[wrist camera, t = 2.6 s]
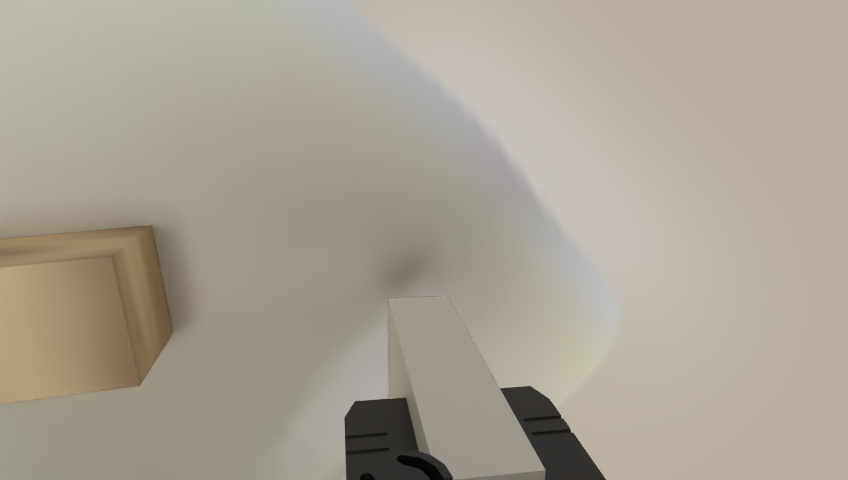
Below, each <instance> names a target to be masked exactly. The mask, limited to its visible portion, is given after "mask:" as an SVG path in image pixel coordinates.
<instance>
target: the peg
mask: <svg viewBox="0 0 848 480" xmlns="http://www.w3.org/2000/svg"><path fill="white" fill-rule="evenodd" d="M172 334H173V330H172V325H171V320H170V315H169V310H168V305H167V300H166V295H165V290H164V285H163V280H162V275H161V270H160V265H159V260H158V255H157V250H156V245H155V240H154V235H153V230H152V225H150V226H139V227H128V228H117V229H107V230H96V231H85V232H74V233H63V234H52V235H41V236H30V237H19V238H8V239H0V404H6V403H14V402H21V401H29V400H36V399H44V398H51V397H59V396H66V395H74V394H81V393H89V392H96V391H104V390H112V389H119V388H127V387H134V386H140V385H141V383H142V382H143V380H144V378H145V377H146V375H147V374H148V372H149V370H150V369H151V367H152V366H153V364H154V362H155V361H156V359H157V358H158V356H159V354H160V353H161V351H162V350H163V348H164V346H165V345H166V343H167V342H168V340H169V338H170V337H171V335H172Z"/></svg>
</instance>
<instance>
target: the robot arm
mask: <svg viewBox="0 0 848 480" xmlns="http://www.w3.org/2000/svg"><path fill="white" fill-rule="evenodd" d="M388 370H389V399H380V400H367V401H355V402H354V404H353V405H352V407H351V408H350V410H349V412H348V413H347V415H346V416H345V449H346V480H606V479H605V478H604V476H603V475H602V473H601V472H600V470H599V469H598V468H597V466H596V465H595V463H594V462H593V460H592V459H591V458H590V456H589V455H588V453H587V452H586V450H585V449H584V448H583V447H582V445H581V444H580V442H579V441H578V439H577V438H576V436H575V435H574V434H573V433H571V430H570V428H569V426H568V425H567V423H566V422H565V421H564V419H561V415H560V413H559V412H558V411H557V409H556V408H555V406H554V405H553V403H552V402H551V401H550V399H548V398H547V397H545V396H544V395H543V394H541V393H540V392H538V391H537V390H535V389H534V388H532V387H531V386H525V387H512V388H499V386H498V384H497V383H496V381H495V379H494V377H493V375H492V374H491V372H490V370H489V368H488V367H487V365H486V363H485V361H484V359H483V358H482V356H481V354H480V352H479V350H478V349H477V347H476V345H475V343H474V342H473V340H472V338H471V336H470V334H469V333H468V331H467V329H466V327H465V325H464V324H463V322H462V320H461V318H460V317H459V315H458V313H457V311H456V309H455V308H454V306H453V304H452V302H451V301H450V299H449V297H448V296H430V297H409V298H388Z"/></svg>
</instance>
